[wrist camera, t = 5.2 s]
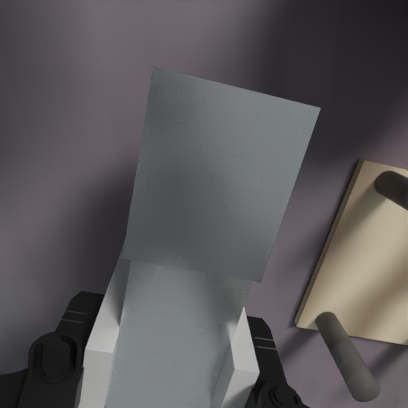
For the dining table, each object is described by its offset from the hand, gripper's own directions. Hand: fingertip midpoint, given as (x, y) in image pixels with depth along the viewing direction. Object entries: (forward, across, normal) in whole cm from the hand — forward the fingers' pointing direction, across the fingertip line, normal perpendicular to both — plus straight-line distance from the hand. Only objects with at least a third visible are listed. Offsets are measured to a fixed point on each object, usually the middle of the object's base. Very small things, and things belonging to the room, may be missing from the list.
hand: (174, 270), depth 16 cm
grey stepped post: (0, 0, 0) cm, 1 cm away
